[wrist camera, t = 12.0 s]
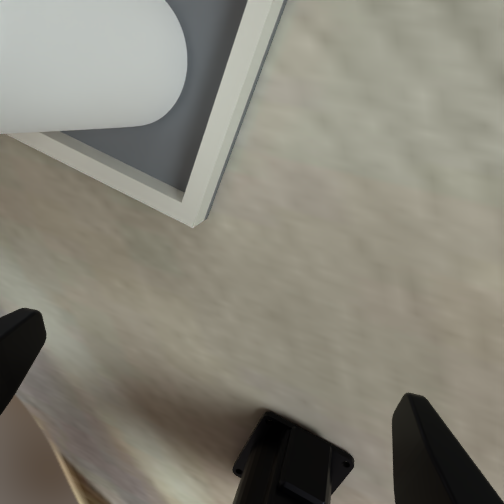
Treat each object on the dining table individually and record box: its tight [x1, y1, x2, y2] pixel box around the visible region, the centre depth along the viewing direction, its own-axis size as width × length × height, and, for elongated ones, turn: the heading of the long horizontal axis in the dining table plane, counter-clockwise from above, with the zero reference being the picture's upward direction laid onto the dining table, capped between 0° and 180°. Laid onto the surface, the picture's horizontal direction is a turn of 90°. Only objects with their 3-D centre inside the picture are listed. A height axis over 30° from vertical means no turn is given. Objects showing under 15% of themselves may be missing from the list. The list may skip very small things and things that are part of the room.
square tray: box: [6, 0, 287, 228], centre depth 18 cm, size 13×13×2 cm
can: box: [0, 0, 187, 134], centre depth 13 cm, size 6×6×12 cm
